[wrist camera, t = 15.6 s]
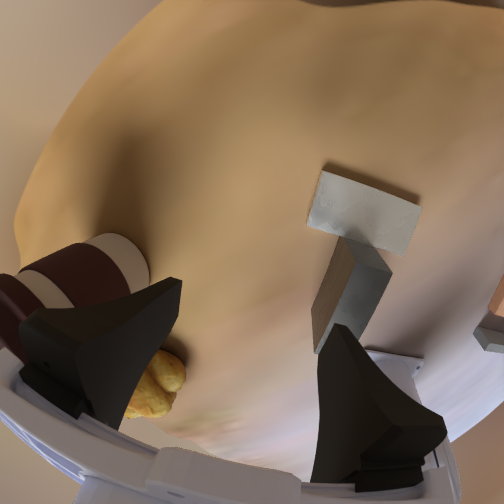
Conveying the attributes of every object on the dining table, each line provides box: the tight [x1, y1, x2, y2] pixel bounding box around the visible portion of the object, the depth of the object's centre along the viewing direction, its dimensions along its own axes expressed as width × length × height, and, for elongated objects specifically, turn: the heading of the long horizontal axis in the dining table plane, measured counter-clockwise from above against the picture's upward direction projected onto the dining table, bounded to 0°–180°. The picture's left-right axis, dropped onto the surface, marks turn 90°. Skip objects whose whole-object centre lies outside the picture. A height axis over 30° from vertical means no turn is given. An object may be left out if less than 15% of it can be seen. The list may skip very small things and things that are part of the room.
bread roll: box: [124, 349, 186, 419], centre depth 25 cm, size 13×10×8 cm
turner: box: [306, 170, 422, 354], centre depth 18 cm, size 11×8×6 cm
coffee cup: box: [0, 233, 149, 366], centre depth 17 cm, size 10×10×15 cm
